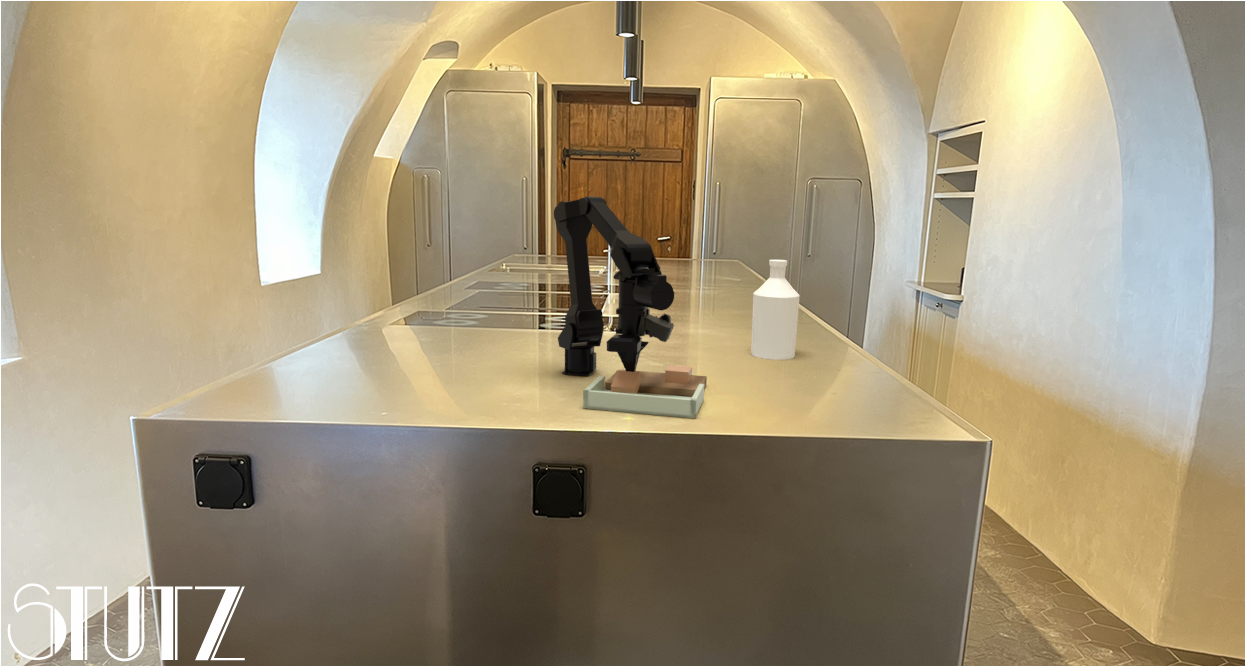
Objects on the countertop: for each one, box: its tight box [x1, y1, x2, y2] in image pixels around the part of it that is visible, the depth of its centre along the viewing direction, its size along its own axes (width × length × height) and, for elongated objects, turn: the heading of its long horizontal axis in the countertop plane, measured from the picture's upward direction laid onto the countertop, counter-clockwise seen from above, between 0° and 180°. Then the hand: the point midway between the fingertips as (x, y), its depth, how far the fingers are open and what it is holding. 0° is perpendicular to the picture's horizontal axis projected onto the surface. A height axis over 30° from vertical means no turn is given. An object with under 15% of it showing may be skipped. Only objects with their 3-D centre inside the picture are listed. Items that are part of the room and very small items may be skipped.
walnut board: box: [605, 369, 708, 397], centre depth 156 cm, size 20×12×2 cm, turn 76°
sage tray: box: [582, 375, 705, 419], centre depth 144 cm, size 22×12×4 cm, turn 76°
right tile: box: [664, 364, 693, 384], centre depth 156 cm, size 5×5×2 cm
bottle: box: [750, 259, 801, 361], centre depth 189 cm, size 12×12×25 cm
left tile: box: [611, 369, 641, 394], centre depth 149 cm, size 5×5×2 cm
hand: (631, 376), depth 151 cm, fingers closed
